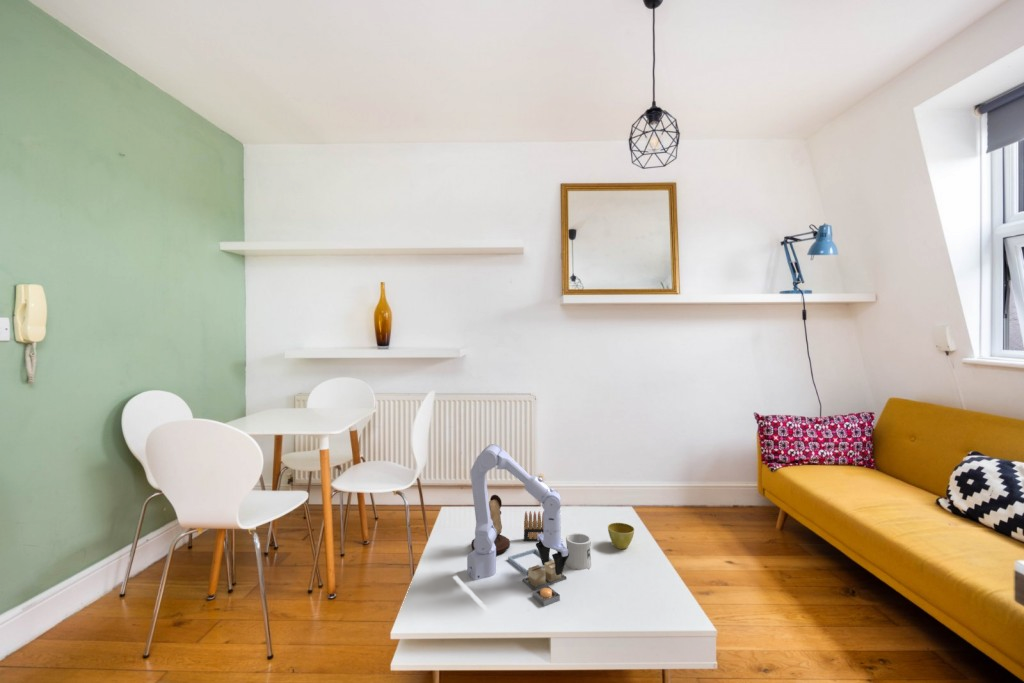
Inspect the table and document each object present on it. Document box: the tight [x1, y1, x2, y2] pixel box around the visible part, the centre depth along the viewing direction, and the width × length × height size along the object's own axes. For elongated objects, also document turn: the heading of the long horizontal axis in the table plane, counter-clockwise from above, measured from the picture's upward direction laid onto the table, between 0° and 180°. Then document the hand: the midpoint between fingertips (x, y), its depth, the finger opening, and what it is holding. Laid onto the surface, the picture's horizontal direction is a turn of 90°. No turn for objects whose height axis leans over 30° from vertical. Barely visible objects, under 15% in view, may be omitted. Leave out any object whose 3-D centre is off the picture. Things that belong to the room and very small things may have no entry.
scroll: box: [470, 494, 511, 555], centre depth 177 cm, size 15×15×20 cm
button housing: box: [531, 585, 561, 608], centre depth 142 cm, size 6×6×3 cm
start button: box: [540, 588, 552, 599], centre depth 142 cm, size 4×4×3 cm
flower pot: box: [607, 522, 635, 550], centre depth 180 cm, size 10×10×7 cm
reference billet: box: [527, 564, 546, 587], centre depth 151 cm, size 4×4×5 cm
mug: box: [565, 532, 592, 571], centre depth 166 cm, size 12×9×10 cm
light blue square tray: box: [507, 548, 553, 576], centre depth 165 cm, size 12×12×2 cm
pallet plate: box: [522, 573, 567, 591], centre depth 153 cm, size 14×9×2 cm, turn 122°
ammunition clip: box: [523, 510, 544, 542], centre depth 184 cm, size 11×2×12 cm, turn 90°
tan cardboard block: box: [544, 559, 562, 581], centre depth 154 cm, size 4×4×5 cm
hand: (552, 569), depth 154 cm, fingers open, 7 cm apart
